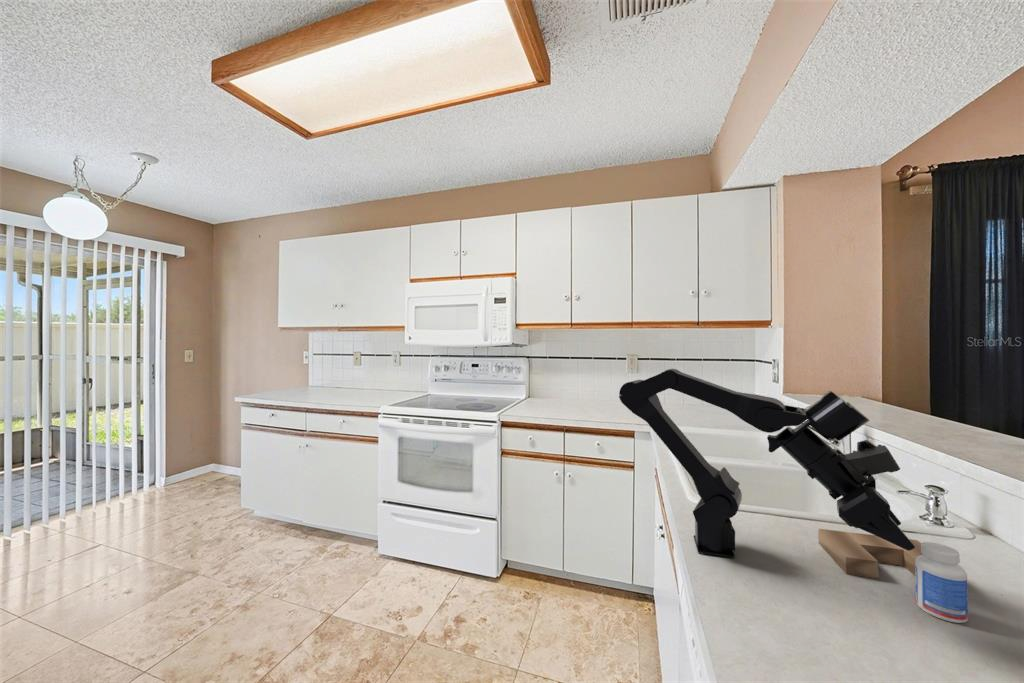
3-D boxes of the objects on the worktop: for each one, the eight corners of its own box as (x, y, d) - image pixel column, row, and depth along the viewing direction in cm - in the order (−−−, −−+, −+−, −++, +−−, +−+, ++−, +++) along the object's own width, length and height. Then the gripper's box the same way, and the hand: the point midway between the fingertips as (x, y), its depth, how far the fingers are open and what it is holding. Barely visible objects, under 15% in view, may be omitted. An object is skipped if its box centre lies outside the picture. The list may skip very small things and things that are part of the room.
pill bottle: (979, 626, 56) (979, 560, 56) (935, 621, 57) (934, 556, 57) (946, 601, 62) (945, 541, 62) (906, 597, 63) (905, 538, 63)
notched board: (845, 573, 69) (845, 557, 69) (818, 543, 80) (818, 528, 80) (962, 590, 64) (962, 572, 64) (917, 555, 75) (916, 540, 75)
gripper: (866, 440, 57) (981, 534, 51) (851, 418, 73) (938, 489, 66) (801, 482, 62) (899, 574, 56) (800, 454, 77) (876, 523, 71)
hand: (904, 536), depth 62 cm, fingers open, 9 cm apart
